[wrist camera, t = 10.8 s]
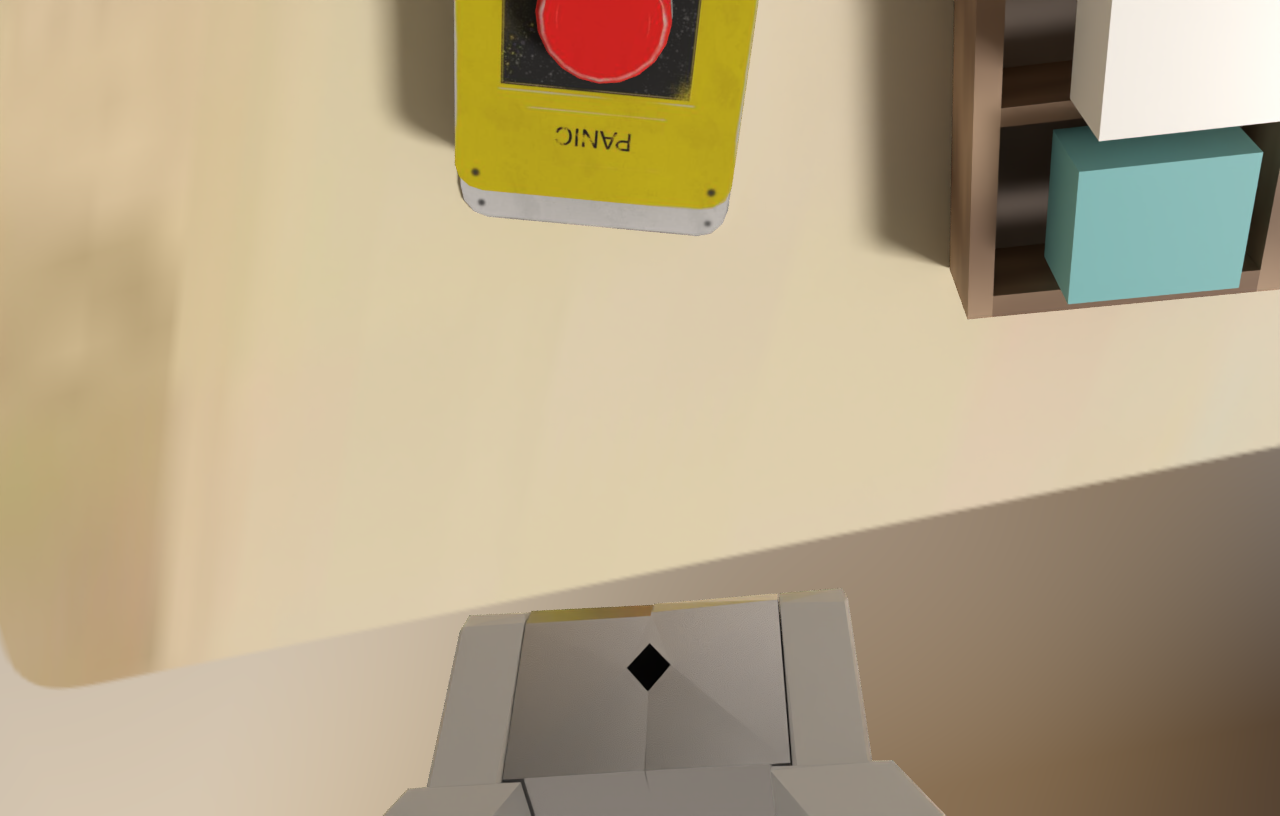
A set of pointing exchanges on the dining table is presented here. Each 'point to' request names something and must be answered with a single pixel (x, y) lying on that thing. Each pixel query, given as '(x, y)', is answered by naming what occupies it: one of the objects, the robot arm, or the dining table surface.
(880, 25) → the dining table surface
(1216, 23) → the white block
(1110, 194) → the teal block
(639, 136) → the emergency button
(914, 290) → the dining table surface
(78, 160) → the dining table surface
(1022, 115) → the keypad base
